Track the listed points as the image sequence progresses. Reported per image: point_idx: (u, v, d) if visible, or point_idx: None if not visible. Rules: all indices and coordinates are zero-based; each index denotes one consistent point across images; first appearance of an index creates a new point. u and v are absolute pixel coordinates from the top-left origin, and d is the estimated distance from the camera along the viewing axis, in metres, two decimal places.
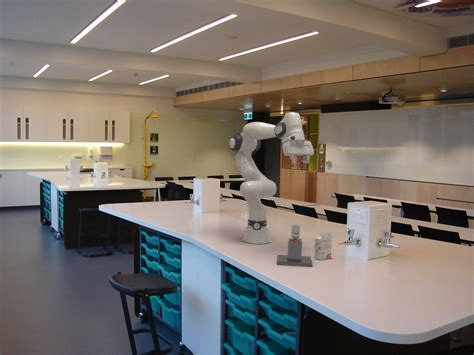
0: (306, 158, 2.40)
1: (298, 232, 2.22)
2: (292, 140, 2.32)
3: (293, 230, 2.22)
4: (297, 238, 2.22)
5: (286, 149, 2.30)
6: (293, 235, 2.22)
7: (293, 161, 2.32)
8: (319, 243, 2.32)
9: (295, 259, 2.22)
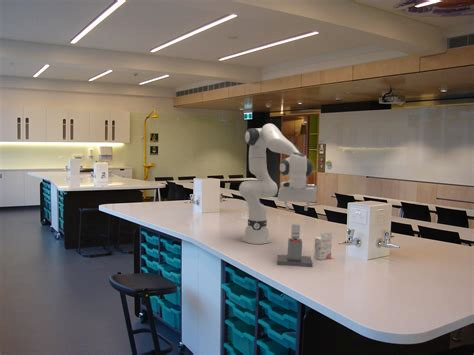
0: (307, 204, 2.23)
1: (298, 232, 2.22)
2: (285, 187, 2.20)
3: (293, 230, 2.22)
4: (297, 238, 2.22)
5: (278, 195, 2.22)
6: (293, 235, 2.22)
7: (286, 207, 2.24)
8: (319, 243, 2.32)
9: (295, 259, 2.22)
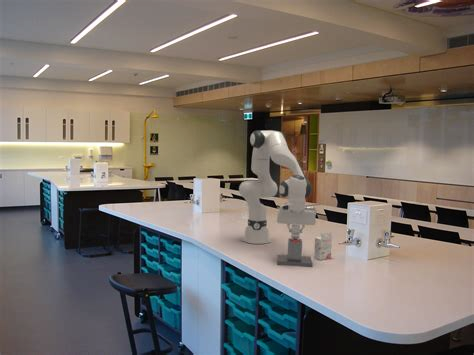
0: (302, 226, 2.24)
1: (298, 232, 2.22)
2: (284, 210, 2.21)
3: (293, 230, 2.22)
4: (297, 238, 2.22)
5: (277, 217, 2.23)
6: (293, 235, 2.22)
7: None
8: (319, 243, 2.32)
9: (295, 259, 2.22)
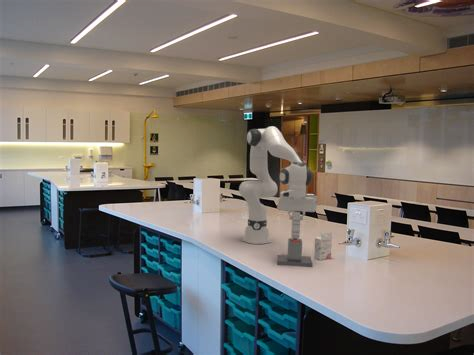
0: (303, 213, 2.24)
1: (299, 219, 2.22)
2: (285, 196, 2.20)
3: (294, 217, 2.22)
4: (298, 225, 2.22)
5: None
6: (293, 222, 2.22)
7: (289, 217, 2.24)
8: (319, 243, 2.32)
9: (295, 259, 2.22)
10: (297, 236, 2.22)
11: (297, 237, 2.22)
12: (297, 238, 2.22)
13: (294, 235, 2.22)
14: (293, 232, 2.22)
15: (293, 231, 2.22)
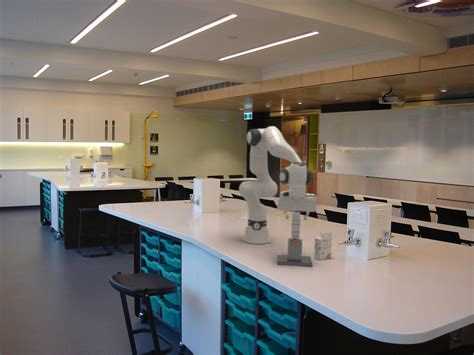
0: None
1: (299, 219, 2.22)
2: (285, 196, 2.20)
3: (294, 217, 2.22)
4: (298, 225, 2.22)
5: None
6: (293, 222, 2.22)
7: None
8: (319, 243, 2.32)
9: (295, 259, 2.22)
10: (297, 235, 2.22)
11: (297, 237, 2.22)
12: (297, 238, 2.22)
13: (294, 235, 2.22)
14: (293, 232, 2.22)
15: (293, 231, 2.22)
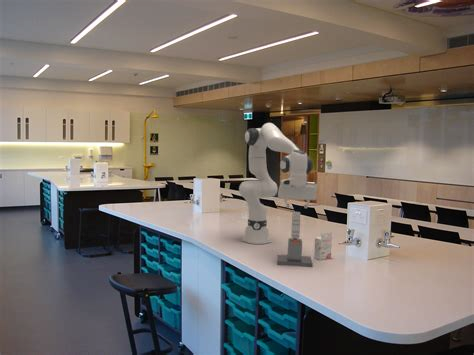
0: (307, 202, 2.23)
1: (299, 219, 2.22)
2: (286, 184, 2.20)
3: (294, 217, 2.22)
4: (298, 225, 2.22)
5: (278, 193, 2.22)
6: (293, 222, 2.22)
7: (286, 205, 2.24)
8: (319, 243, 2.32)
9: (295, 259, 2.22)
10: (297, 235, 2.22)
11: (297, 237, 2.22)
12: (297, 238, 2.22)
13: (294, 235, 2.22)
14: (293, 232, 2.22)
15: (293, 231, 2.22)
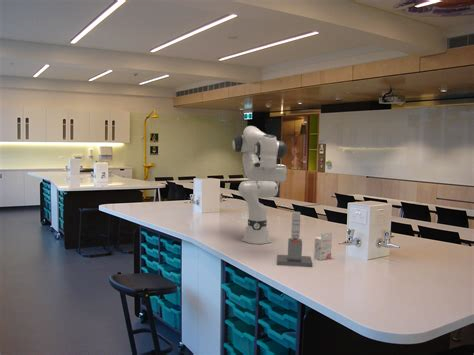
0: (277, 184, 2.35)
1: (299, 219, 2.22)
2: (256, 167, 2.31)
3: (294, 217, 2.22)
4: (298, 225, 2.22)
5: (249, 175, 2.34)
6: (293, 222, 2.22)
7: (257, 187, 2.35)
8: (319, 243, 2.32)
9: (295, 259, 2.22)
10: (297, 235, 2.22)
11: (297, 237, 2.22)
12: (297, 238, 2.22)
13: (294, 235, 2.22)
14: (293, 232, 2.22)
15: (293, 231, 2.22)
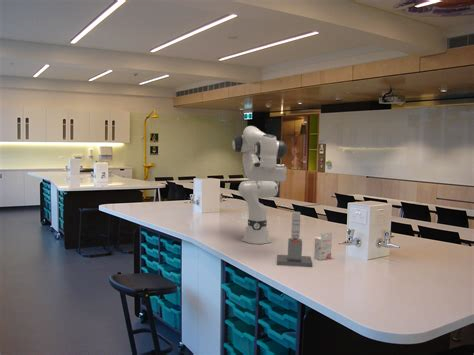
0: (277, 184, 2.35)
1: (299, 219, 2.22)
2: (256, 167, 2.31)
3: (294, 217, 2.22)
4: (298, 225, 2.22)
5: (249, 175, 2.34)
6: (293, 222, 2.22)
7: (257, 187, 2.35)
8: (319, 243, 2.32)
9: (295, 259, 2.22)
10: (297, 235, 2.22)
11: (297, 237, 2.22)
12: (297, 238, 2.22)
13: (294, 235, 2.22)
14: (293, 232, 2.22)
15: (293, 231, 2.22)
